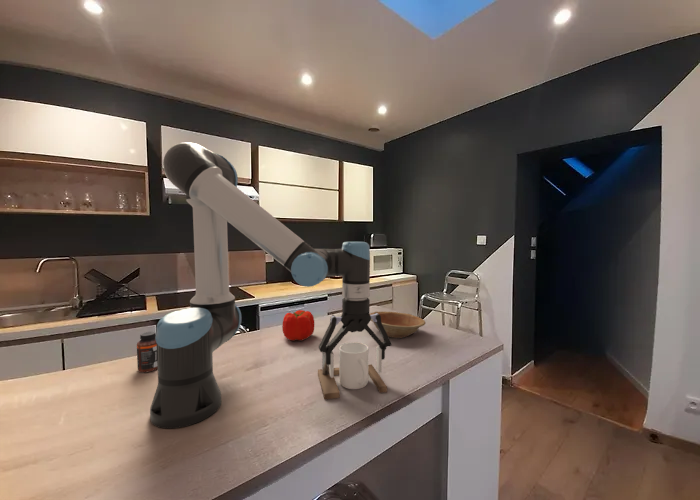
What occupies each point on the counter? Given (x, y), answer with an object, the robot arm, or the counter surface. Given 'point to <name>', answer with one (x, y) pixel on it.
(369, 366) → the brown wooden u-shaped piece
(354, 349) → the mug
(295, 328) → the red lobed round piece
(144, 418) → the counter surface
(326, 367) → the hook post
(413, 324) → the bowl
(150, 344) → the supplement bottle
